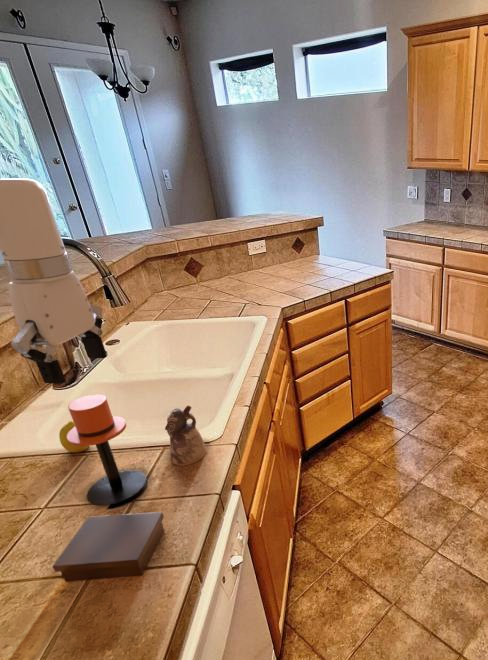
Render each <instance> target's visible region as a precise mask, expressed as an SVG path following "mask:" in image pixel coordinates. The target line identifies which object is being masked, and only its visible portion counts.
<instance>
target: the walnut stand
mask: <svg viewBox="0 0 488 660" xmlns="http://www.w3.org/2000/svg"><path fill="white" fill-rule="evenodd" d="M164 519H165V516H164V512H163V511H158V512H157V511H155V512H142V513H127V514H113V515H98V516H97V515H96V516H87V518H86V519H85V521H84V522H83V523H82V525H81V526H80V528H79V529H78V530H77V532H76V533H75V534H74V536H73V537H72V539H71V540H70V542H69V543H68V544H67V545H66V547H65V549H64V550H62V553H61V554H60V555H59V557H58V558H57V559H56V561H55V562H54V563H53V565H52V568H53V570H54V572H56V573H57V572H60V574H61V575H62V577H63V580H64V581H65V582H66V583H68V582H69V583H70V582H80V581H83V582H84V581H95V580H105V579H106V580H107V579H116V578H117V579H118V578H128V577H129V578H130V577H142V576H144V573H145V571H146V569H147V567H148V565H149V563H150V561H151V559H152V557H153V555H154V553H155V551H156V548H157V547H158V545H159V543H160V540H161V539H162V537H163V535H164V533H165V527H164V525H163V520H164Z"/></svg>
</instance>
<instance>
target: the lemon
mask: <svg viewBox="0 0 488 660" xmlns="http://www.w3.org/2000/svg"><path fill="white" fill-rule="evenodd" d="M74 427H75V424H74V422H73V420H71V421H70V420H69V421H68V422H67V423H65V424H64V425H63V426H61V428H60V430H59V435H58V437H59V442H60V444H61V446H62V447H63V448H64V450H66V451H67V452H70V453H81V452H84V451H85V450H87V449H88V448H90V446H75V445H72V444H70V443H69V442H68V440H67V434H68V432H69V431H70V430H71V429H72V428H74Z"/></svg>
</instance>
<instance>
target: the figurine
mask: <svg viewBox="0 0 488 660" xmlns="http://www.w3.org/2000/svg"><path fill="white" fill-rule="evenodd" d="M191 410H192V406H191V405H186V406H185V408H184V409H183V410H181V409H180V408H178V407H174V408H173V409H172V410H171V411H170V412H168V414H167V418H166V425H165V427H164V430H165V431H166V433H167V434H168V437H169V455H170V462H171V464H174V465H177V466H179V467H183V466H184V467H185V466H188V465H192V464H195V463H196V462H198V461H200V460H201V459H202V458H203V457H204V456H205V454H206V445H205V442H204V439H203V437H202V436H201V433H200V431H199V429H198V428H197V427H196V425H197V421H196V418H195V416H194V415H193V414H192V413H191V412H190V411H191ZM188 420H191V422H188Z"/></svg>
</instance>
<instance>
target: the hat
mask: <svg viewBox="0 0 488 660" xmlns="http://www.w3.org/2000/svg"><path fill="white" fill-rule="evenodd" d="M67 408H68V411H69V413H70V416H71V420H72V422H74V424H75V427H74V428H72V429H71V430H70V431H69V432H68V434H67V440H68V442H69V443H70V444H72V445H75V446H89V447H90V446H96V444H100V443H103V442H106V441H108V442H109V441H110V440H113V439H115V438H116V437H118V436H119V435H121V434H122V433H123V432H124V431H125V430H126V428H127V422H126V420H125V418H123V417H121V416H117V415H112V411H111V408H110V405H109V403H108V399H107V397H106V396H105V395H103V394H90V395H85V396H81V397H79V398H76V399H75V400H72V401H70V403H69V404H68V406H67Z"/></svg>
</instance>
